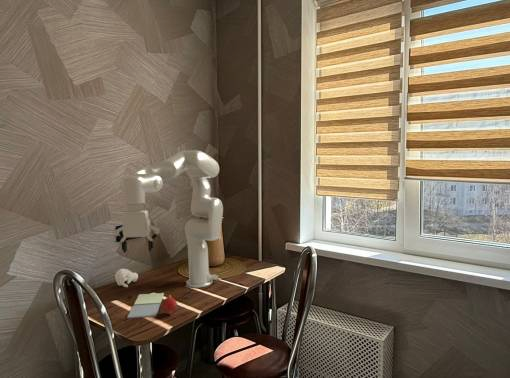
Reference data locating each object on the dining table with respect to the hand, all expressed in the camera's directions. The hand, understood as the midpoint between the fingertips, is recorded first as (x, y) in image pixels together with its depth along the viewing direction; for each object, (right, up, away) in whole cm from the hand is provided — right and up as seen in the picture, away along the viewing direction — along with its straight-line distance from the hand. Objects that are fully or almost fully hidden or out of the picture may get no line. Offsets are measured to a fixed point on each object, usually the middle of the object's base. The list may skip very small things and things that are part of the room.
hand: (138, 251), depth 154 cm
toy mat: (0, -26, +7) cm, 27 cm away
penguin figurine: (-17, -23, +40) cm, 49 cm away
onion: (+12, -26, +4) cm, 29 cm away
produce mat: (-1, -24, +19) cm, 31 cm away
